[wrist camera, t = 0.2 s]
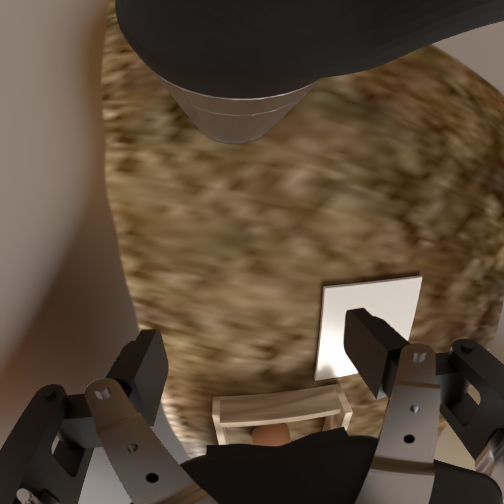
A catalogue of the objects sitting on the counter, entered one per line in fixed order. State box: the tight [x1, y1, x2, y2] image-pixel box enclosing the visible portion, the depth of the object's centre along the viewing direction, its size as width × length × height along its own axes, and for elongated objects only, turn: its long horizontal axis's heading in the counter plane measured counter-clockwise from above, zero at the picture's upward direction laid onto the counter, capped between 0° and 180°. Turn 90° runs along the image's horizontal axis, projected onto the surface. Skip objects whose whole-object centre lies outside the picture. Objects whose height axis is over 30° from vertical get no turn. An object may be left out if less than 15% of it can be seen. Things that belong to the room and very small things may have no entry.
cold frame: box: [212, 383, 353, 445], centre depth 35 cm, size 20×18×6 cm
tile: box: [314, 276, 422, 381], centre depth 33 cm, size 14×14×1 cm
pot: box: [252, 423, 291, 446], centre depth 33 cm, size 6×6×9 cm
